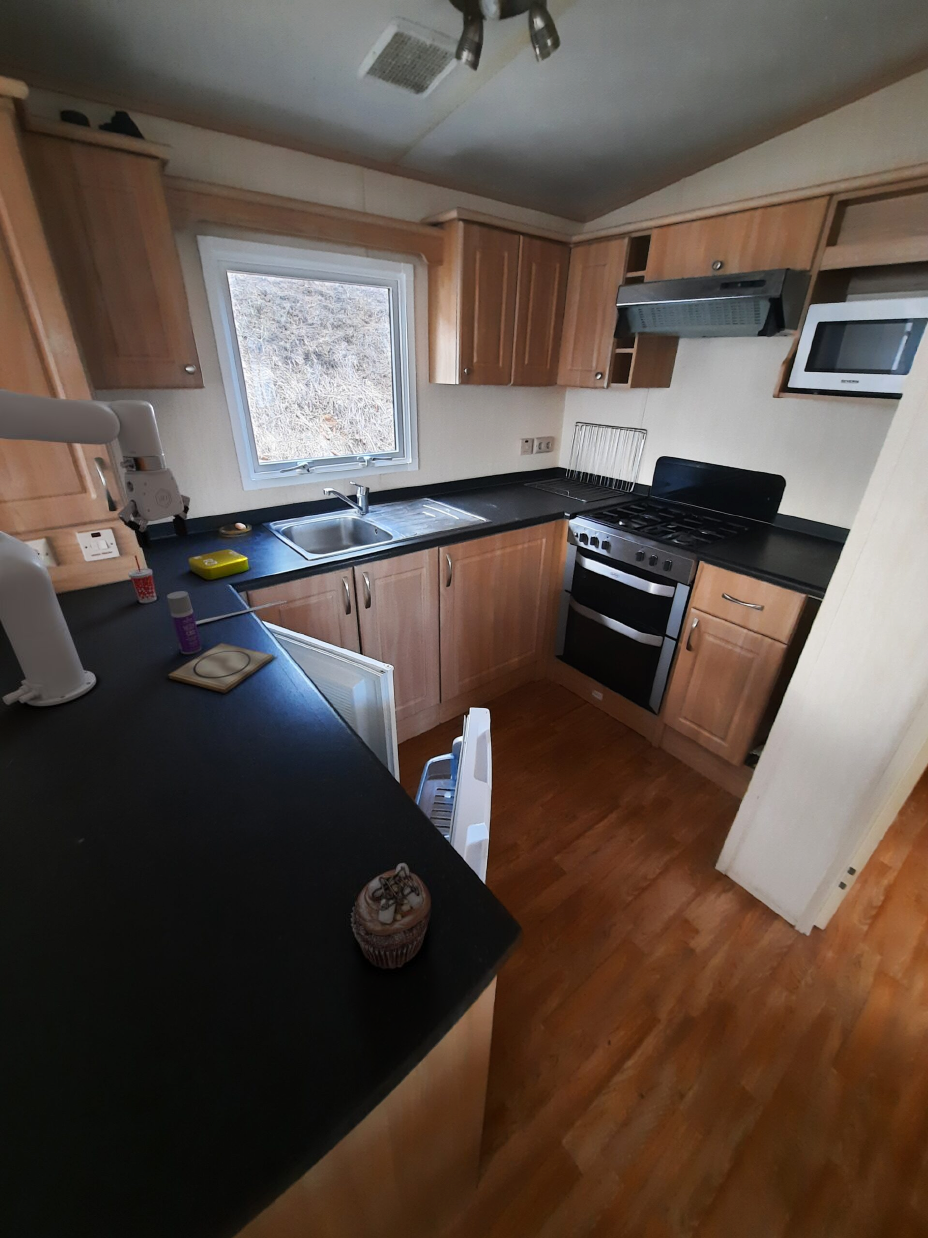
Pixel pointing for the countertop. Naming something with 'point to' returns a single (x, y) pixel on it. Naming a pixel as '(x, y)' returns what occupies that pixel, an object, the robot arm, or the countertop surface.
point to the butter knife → (237, 613)
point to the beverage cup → (143, 584)
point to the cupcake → (392, 917)
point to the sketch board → (221, 667)
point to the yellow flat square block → (219, 564)
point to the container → (184, 622)
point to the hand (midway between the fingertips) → (164, 541)
